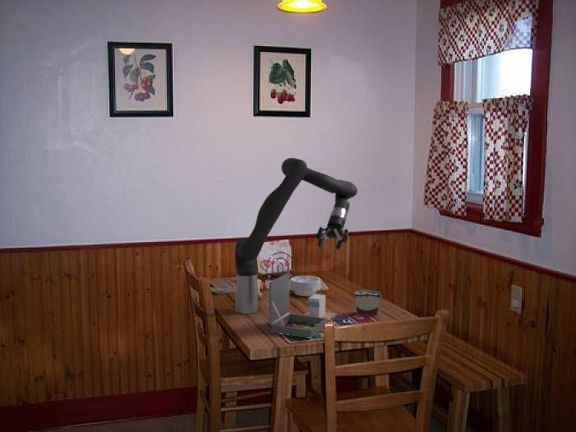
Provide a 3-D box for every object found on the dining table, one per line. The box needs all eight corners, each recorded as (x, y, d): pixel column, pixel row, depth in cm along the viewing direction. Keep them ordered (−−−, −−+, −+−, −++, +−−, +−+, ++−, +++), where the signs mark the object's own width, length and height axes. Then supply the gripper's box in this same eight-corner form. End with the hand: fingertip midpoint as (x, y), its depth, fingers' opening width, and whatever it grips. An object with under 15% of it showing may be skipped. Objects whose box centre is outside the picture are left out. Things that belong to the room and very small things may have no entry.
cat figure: (267, 302, 314) (265, 285, 339) (267, 285, 312) (265, 269, 337) (246, 303, 314) (246, 285, 338) (246, 285, 312) (246, 269, 336)
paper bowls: (302, 288, 335) (302, 273, 334) (326, 293, 326) (326, 278, 324) (283, 294, 324) (283, 279, 322) (307, 300, 314) (308, 284, 313)
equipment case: (269, 332, 266) (269, 282, 263) (287, 320, 282) (287, 273, 278) (311, 339, 258) (311, 287, 255) (327, 326, 274) (327, 277, 271)
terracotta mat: (295, 320, 282) (295, 319, 282) (310, 310, 296) (310, 310, 296) (323, 324, 276) (323, 323, 276) (337, 314, 291) (337, 313, 291)
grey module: (307, 318, 284) (308, 298, 283) (314, 313, 291) (314, 294, 289) (319, 319, 282) (319, 299, 280) (325, 315, 288) (325, 295, 287)
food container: (380, 311, 295) (381, 290, 294) (381, 315, 289) (381, 293, 288) (353, 310, 296) (353, 289, 295) (353, 314, 290) (353, 293, 289)
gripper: (321, 213, 303) (311, 242, 294) (350, 215, 297) (341, 244, 288) (325, 223, 308) (315, 251, 300) (354, 225, 302) (345, 254, 294)
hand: (328, 248), depth 294 cm, fingers open, 8 cm apart
